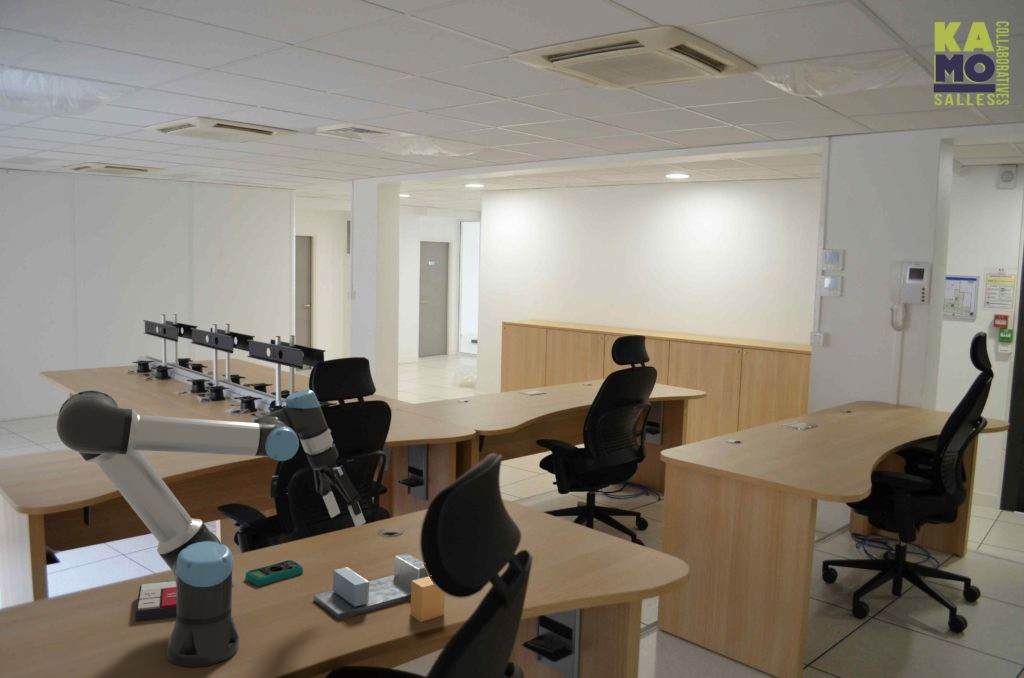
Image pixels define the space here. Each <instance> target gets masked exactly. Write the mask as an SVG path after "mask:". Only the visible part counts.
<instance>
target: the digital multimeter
mask: <svg viewBox="0 0 1024 678" xmlns="http://www.w3.org/2000/svg"><path fill="white" fill-rule="evenodd" d="M303 573H304V566H302V565H301V564H300V563H298V562H296V561H294V560H291V559H287V560H284V561H280V562H277V563H273V564H270V565H266V566H262V567H259V568H254V569H251V570H248V571H246V572H245V580H246V581H248V582H249V583H251V584H253V585H255V586H256V585H257V587H263V586H266V585H268V583H269V584H271V582H272V583H274V581H275V582H278V581H277V580H279V581H281V579H282V580H285V579H288V578H287V577H289V578H292V577H296V576H300V575H303ZM299 574H300V575H299ZM295 575H296V576H295ZM284 578H285V579H284ZM265 584H266V585H265Z"/></svg>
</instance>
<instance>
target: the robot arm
mask: <svg viewBox="0 0 1024 678" xmlns="http://www.w3.org/2000/svg"><path fill="white" fill-rule="evenodd" d="M284 400H285V406H284V407H283V408H281V409H278V410H275V411H273V412H271V413H268V414H265V415H263V416H261V417H258V418H255V419H252V420H251V421H249V422H248V421H233V420H219V419H206V418H193V417H192V418H191V417H190V418H189V417H179V416H176V417H175V416H163V415H151V414H150V415H149V414H139V413H138V412H137V411H136V410H135V409H134V408H133V409H132V408H121V407H119V406H118V403H117V401H116V399H114V398H113V397H112V396H110V395H109V394H107V393H106V392H105V391H104V392H103V391H101V390H96V389H87V390H82V391H78V392H76V393H75V394H73V395H71V396H70V397H68V398H67V399H66V400H65V401H64V402H63V404H62V405H61V406H60V409H59V412H58V418H57V421H56V432H57V436H58V438H59V440H60V441H61V442H62V444H63V445H65V447H67V448H69V449H70V450H72V451H75V452H77V453H78V454H79V455H80V456H81V457H82V458H83V460H84V461H85V462H86V463H87V462H89V463H96V464H97V465H98V466H99V468H100V469H101V470H102V472H103V473H104V474H105V476H107V478H108V479H109V480H110V481H111V483H112V484H113V485H114V487H115V488H116V489H117V490H118V492H119V493H120V494H121V496H123V498H124V499H125V501H126V502H127V503H128V505H129V506H130V507H131V508H132V510H133V511H134V512H135V513H136V515H137V516H138V517H139V519H140V520H141V521H142V523H143V524H144V525H145V526H146V528H147V529H148V530H149V532H150V533H151V534H152V535H153V537H154V538H155V539H156V540H157V542H158V545H157V549H156V552H157V553H158V555H159V556H160V558H161V559H162V560H163V561H164V563H165V564H166V565H167V566H168V568H169V569H170V570H171V572H172V573H173V575H174V581H175V582H176V591H177V596H176V617H175V618H176V619H175V623H174V625H173V629H172V632H171V634H170V636H169V640H168V643H167V650H166V651H167V652H166V653H167V659H168V661H169V662H171V663H172V664H174V665H176V666H181V667H188V668H189V667H190V668H197V667H206V666H212V665H216V664H219V663H222V662H224V661H226V660H228V659H230V658H231V657H233V656H234V655H235V654H236V653H237V652H238V651H239V649H240V635H239V632H238V629H237V627H236V623H235V620H234V617H233V615H232V610H233V609H232V605H233V599H232V598H233V597H232V596H233V595H232V594H233V569H234V559H233V552H232V551H231V549H230V548H229V546H227V545H226V544H223V543H221V541H220V539H219V537H218V536H217V535H216V534H215V533H213V532H211V531H210V529H209V528H208V526H207V525H206V524H205V523H204V522H203V520H202V519H200V518H192V517H191V516H190V514H189V513H188V512H187V511H186V509H185V508H184V506H182V505H183V504H181V502H180V501H179V500H178V498H177V497H176V496H175V494H174V493H173V492H172V490H171V489H170V488H169V486H168V485H167V484H166V483H165V481H164V480H163V479H162V478H161V476H160V474H159V473H158V472H157V470H156V469H155V468H154V467H153V466H152V463H150V461H149V460H148V459H147V457H146V456H145V455H144V454H143V452H142V451H146V452H147V451H150V452H153V451H154V452H171V453H189V454H191V453H192V454H211V455H212V454H213V455H230V456H231V455H235V456H255V457H267V458H271V459H272V460H276V461H279V462H284V461H287V460H290V459H292V458H293V457H295V454H297V452H298V450H299V447H300V444H301V446H302V448H303V451H304V452H305V453H306V457H307V460H308V463H309V465H310V467H311V468H312V471H313V472H312V473H313V480H314V485H315V491H316V492H317V493H319V494H320V495H321V496H322V499H323V501H324V504H325V507H326V509H327V512H328V514H329V516H330V518H331V519H333V518H334V517H336V516H337V515H339V514H341V510H340V508H339V505H338V503H337V500H336V497H335V495H334V493H333V491H332V490H333V488H332V487H331V485H332V486H334V487H335V488H336V489H337V490H338V491H339V493H340V495H342V497H343V498H344V500H345V501H346V502H347V503H346V507H347V509H348V511H349V514H350V516H351V519H352V521H353V524H354V526H355V528H359V527H360V526H362V525H364V524H365V523H366V519H365V516H364V514H363V511H362V508H361V506H360V503H359V501H361V500H362V497H361V495H360V493H359V492H358V490H357V488H356V487H355V485H354V484H353V482H352V481H351V480H352V479H350V478H349V476H348V473H347V472H346V470H345V468H344V465H340V466H338V465H337V463H336V461H337V460H338V458H339V451H338V449H337V447H336V444H335V443H333V442H334V439H333V437H332V434H331V433H332V430H331V429H330V428H329V426H328V424H327V420H326V419H325V415H324V413H323V409H322V408H321V404H320V402H319V400H318V397H317V396H316V394H315V392H314V391H313V390H311V389H302V390H298V391H296V392H293V393H292V394H290V395H288V396H287V397H286V398H285V399H284ZM299 440H300V442H301V443H300V442H299Z"/></svg>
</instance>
